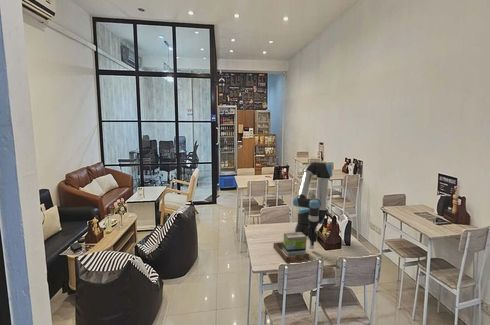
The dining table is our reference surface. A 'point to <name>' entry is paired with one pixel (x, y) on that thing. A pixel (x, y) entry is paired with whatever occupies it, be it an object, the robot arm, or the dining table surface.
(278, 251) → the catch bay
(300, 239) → the tea box
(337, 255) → the dining table surface
